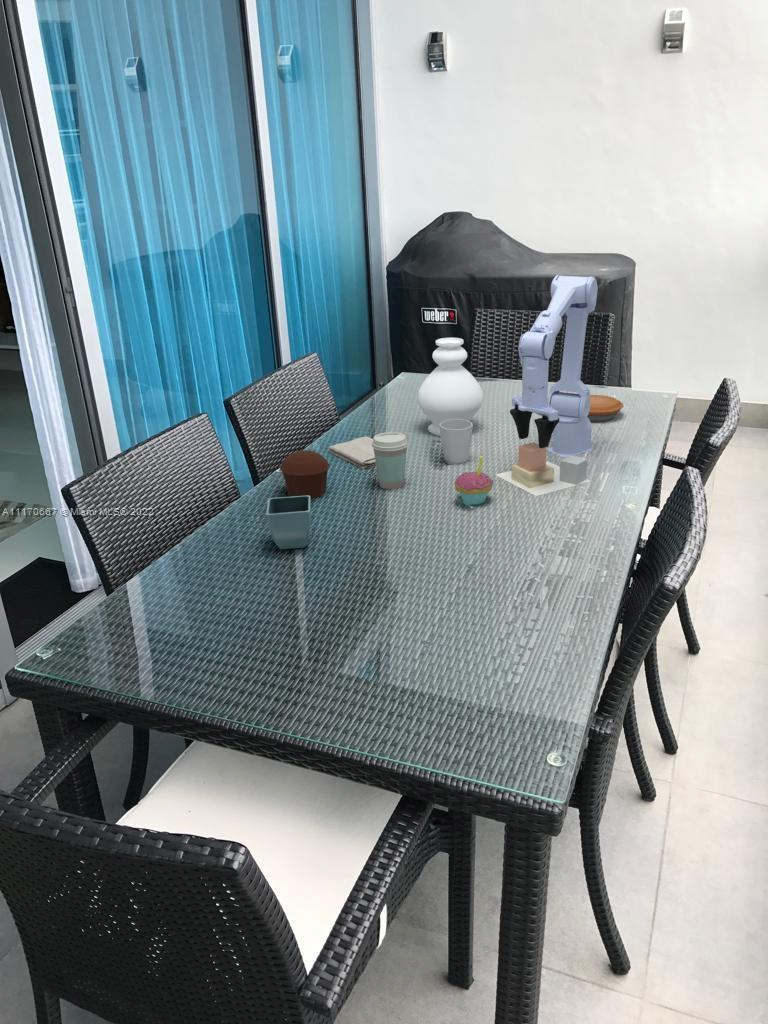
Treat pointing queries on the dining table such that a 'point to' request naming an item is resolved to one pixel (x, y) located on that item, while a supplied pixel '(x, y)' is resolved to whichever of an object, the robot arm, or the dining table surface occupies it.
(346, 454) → the washcloth
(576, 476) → the grey block
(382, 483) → the coffee cup
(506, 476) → the board
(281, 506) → the flower pot
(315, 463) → the muffin
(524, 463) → the terracotta block
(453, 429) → the cup
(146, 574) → the dining table surface
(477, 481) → the cupcake
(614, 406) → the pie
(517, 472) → the maple block
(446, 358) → the decorative vase
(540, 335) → the robot arm
